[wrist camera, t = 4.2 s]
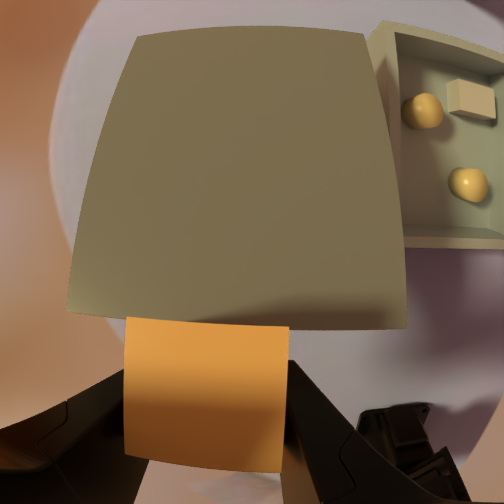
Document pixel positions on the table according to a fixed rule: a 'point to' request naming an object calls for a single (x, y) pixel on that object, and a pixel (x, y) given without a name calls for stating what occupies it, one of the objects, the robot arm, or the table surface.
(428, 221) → the tub
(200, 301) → the lid
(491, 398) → the table surface
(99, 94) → the table surface
